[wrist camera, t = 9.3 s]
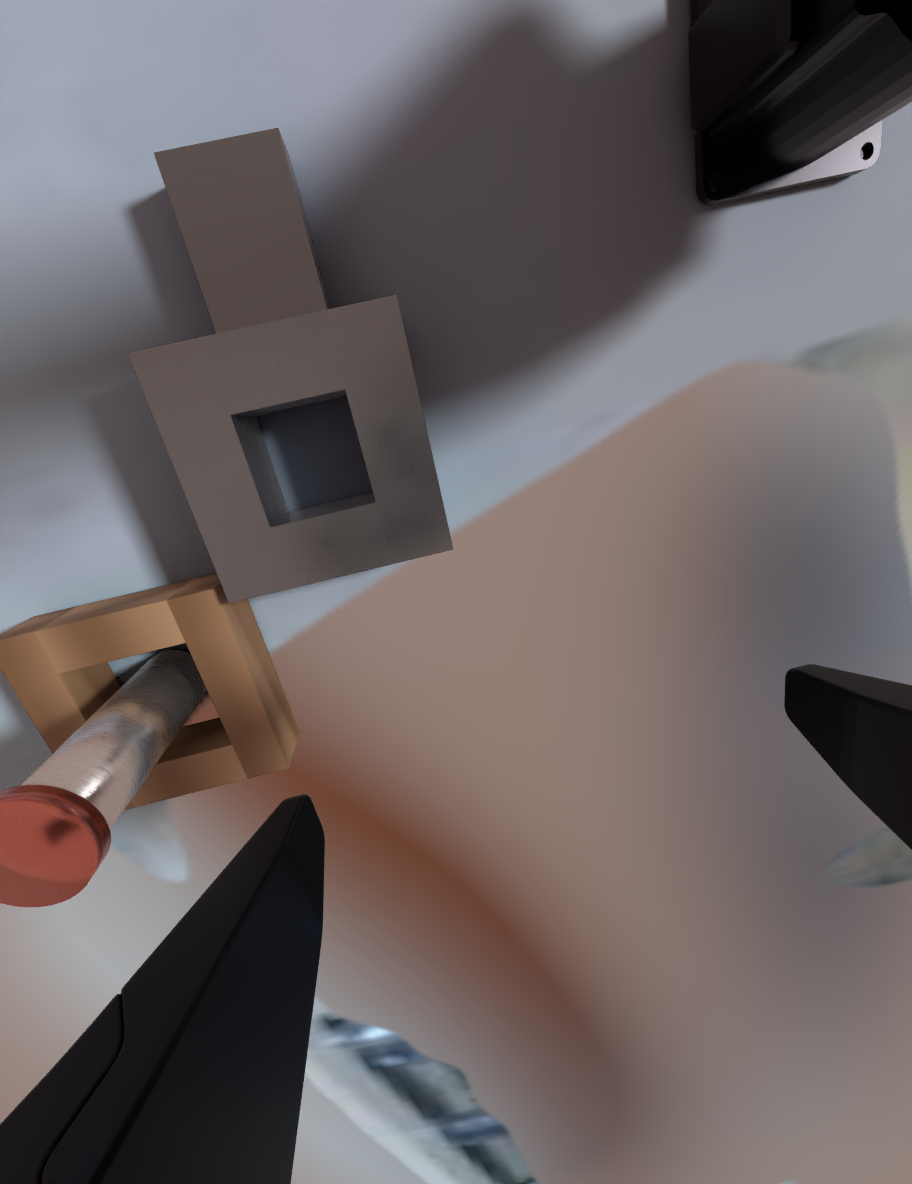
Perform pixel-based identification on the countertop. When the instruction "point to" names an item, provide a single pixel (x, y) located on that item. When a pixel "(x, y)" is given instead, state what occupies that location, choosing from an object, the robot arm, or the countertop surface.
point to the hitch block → (282, 383)
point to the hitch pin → (91, 784)
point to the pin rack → (146, 623)
